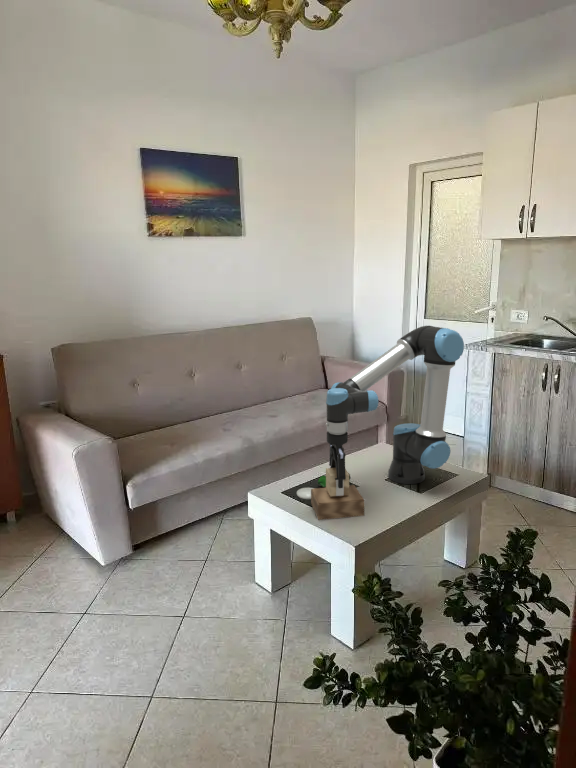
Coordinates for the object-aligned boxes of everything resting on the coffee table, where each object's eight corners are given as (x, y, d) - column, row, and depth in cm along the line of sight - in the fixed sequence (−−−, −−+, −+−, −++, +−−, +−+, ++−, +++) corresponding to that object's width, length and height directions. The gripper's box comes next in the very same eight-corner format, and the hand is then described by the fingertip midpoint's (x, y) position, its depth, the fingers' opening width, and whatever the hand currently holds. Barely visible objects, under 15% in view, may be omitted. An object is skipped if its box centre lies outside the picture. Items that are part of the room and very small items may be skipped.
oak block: (344, 486, 199) (344, 466, 197) (349, 494, 192) (349, 474, 190) (325, 488, 198) (325, 468, 196) (330, 496, 191) (330, 475, 189)
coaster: (316, 488, 215) (316, 486, 215) (321, 498, 206) (321, 496, 206) (295, 490, 213) (294, 488, 213) (298, 500, 205) (298, 498, 205)
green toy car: (314, 488, 215) (314, 476, 214) (341, 477, 225) (341, 466, 224) (326, 494, 210) (326, 482, 209) (353, 482, 220) (353, 471, 219)
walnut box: (354, 499, 204) (354, 484, 203) (364, 515, 192) (364, 499, 190) (311, 503, 202) (310, 488, 200) (318, 519, 189) (318, 503, 188)
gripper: (320, 423, 199) (321, 480, 204) (333, 441, 179) (333, 503, 185) (340, 422, 200) (340, 479, 205) (355, 439, 180) (354, 501, 186)
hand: (337, 490), depth 195 cm, fingers closed on oak block, 7 cm apart
